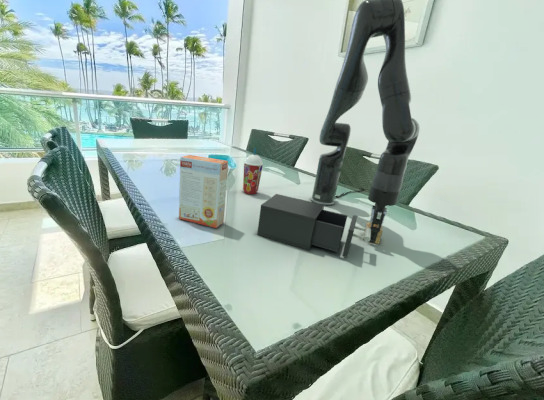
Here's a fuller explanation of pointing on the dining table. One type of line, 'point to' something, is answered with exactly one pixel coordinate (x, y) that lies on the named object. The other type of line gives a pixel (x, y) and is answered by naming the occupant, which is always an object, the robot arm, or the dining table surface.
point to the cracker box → (202, 190)
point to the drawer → (335, 231)
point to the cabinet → (289, 220)
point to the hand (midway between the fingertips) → (371, 236)
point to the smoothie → (252, 173)
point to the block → (378, 232)
